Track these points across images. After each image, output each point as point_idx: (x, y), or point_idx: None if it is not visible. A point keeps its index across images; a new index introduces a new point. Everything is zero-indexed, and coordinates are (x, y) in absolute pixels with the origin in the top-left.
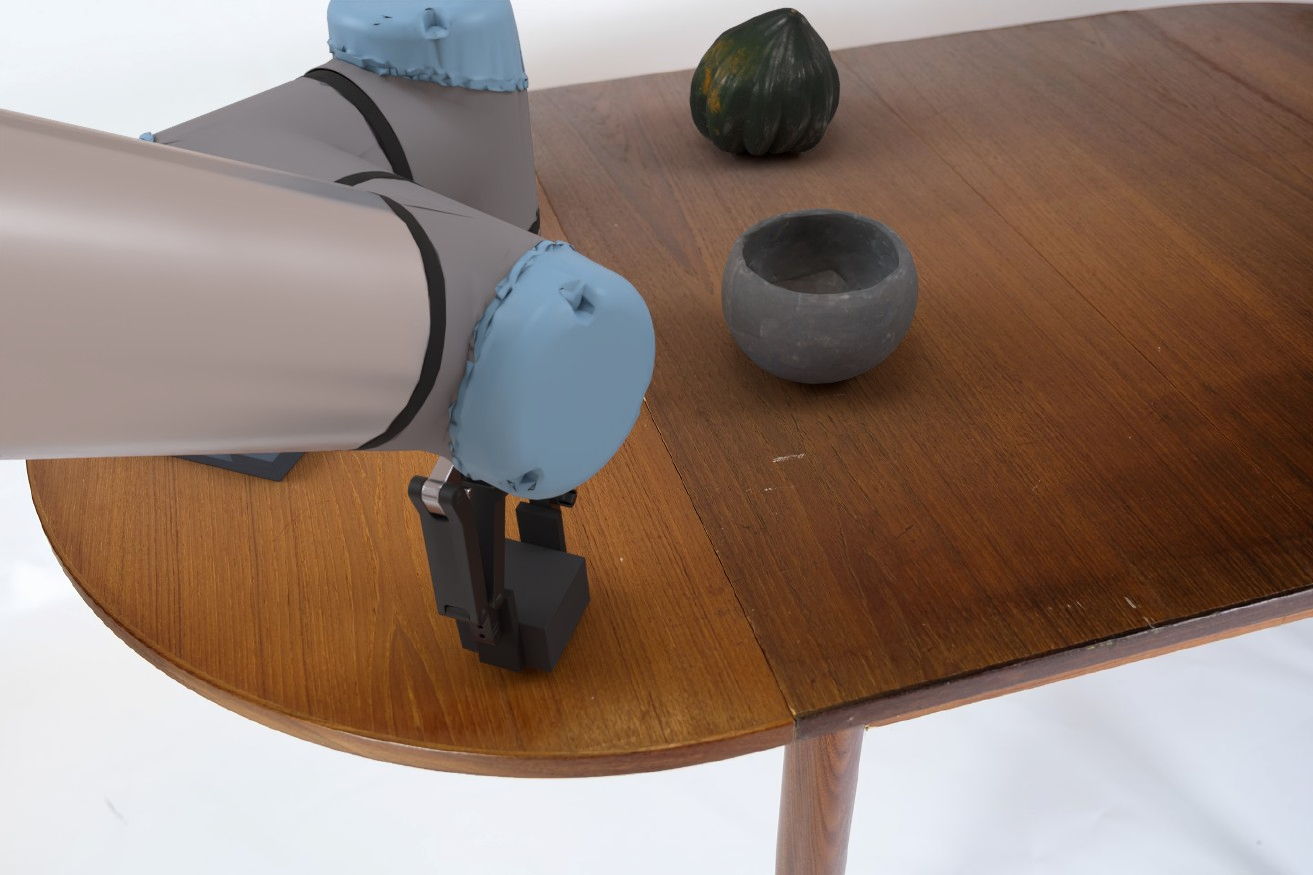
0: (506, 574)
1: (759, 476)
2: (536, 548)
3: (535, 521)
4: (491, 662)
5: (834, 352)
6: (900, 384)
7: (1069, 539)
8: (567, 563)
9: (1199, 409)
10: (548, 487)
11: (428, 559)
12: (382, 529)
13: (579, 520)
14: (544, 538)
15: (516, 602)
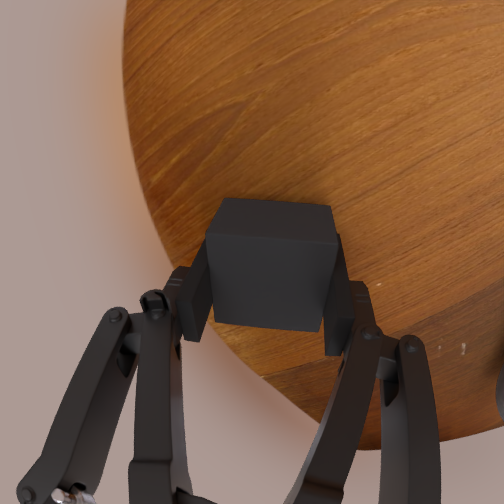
0: (273, 274)
1: (452, 340)
2: (322, 292)
3: (330, 325)
4: None
5: (501, 398)
6: (496, 372)
7: None
8: (306, 322)
9: (441, 432)
10: None
11: (67, 388)
12: (384, 25)
13: (426, 239)
14: (327, 310)
15: (236, 294)
